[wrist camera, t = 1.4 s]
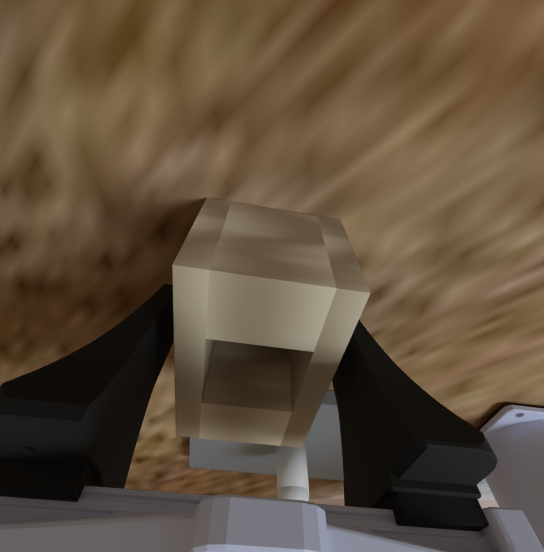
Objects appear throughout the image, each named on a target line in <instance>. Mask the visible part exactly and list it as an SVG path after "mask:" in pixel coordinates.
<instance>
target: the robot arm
mask: <svg viewBox="0 0 544 552" xmlns="http://www.w3.org/2000/svg"><path fill="white" fill-rule="evenodd" d="M173 341H174V314H173V285H168V284H165V285H163V286H162V287H161V288H160V289H159V290H158V291H157V292H156V293H155V294H154V295H153V296H152V297H150V298H149V299H148V300H147V301H146V302H145V303H144V304H143V305H141V306H140V307H139V308H138V309H137V310H136V311H134V312H133V313H132V314H131V315H130V316H128V317H127V318H126V319H124V320H123V321H122V322H121V323H119V324H118V325H117V326H115V327H114V328H112V329H111V330H110V331H108V332H107V333H105V334H104V335H102V336H101V337H99V338H98V339H96V340H94V341H93V342H91V343H89V344H88V345H86V346H84V347H82V348H80V349H79V350H77V351H75V352H73V353H71V354H70V355H68V356H66V357H64V358H62V359H59V360H57V361H55V362H53V363H51V364H49V365H47V366H44V367H42V368H40V369H38V370H35V371H33V372H30V373H28V374H25V375H23V376H20V377H18V378H15V379H13V380H10V381H7V382H5V383H3V384H2V385H1V386H0V552H544V408H536V407H527V406H518V405H507V406H505V407H503V408H502V409H501V410H500V411H499V412H498V413H497V414H496V415H495V416H494V417H493V418H491V419H490V420H489V421H488V422H487V423H486V424H485V425H484V426H483V427H482V428H481V429H480V430H478V429H477V428H475V427H474V426H472V425H470V424H469V423H467V422H466V421H464V420H463V419H461V418H460V417H458V416H457V415H455V414H454V413H453V412H451V411H450V410H448V409H447V408H446V407H444V406H443V405H442V404H440V403H439V402H438V401H436V400H435V399H434V398H433V397H431V396H430V395H429V394H428V393H426V392H425V391H424V390H423V389H422V388H421V387H419V386H418V385H417V384H416V383H415V382H414V381H413V380H411V379H410V378H409V377H408V376H407V375H406V374H405V373H404V372H403V371H402V370H401V369H400V368H399V367H398V366H397V365H396V364H395V363H394V362H393V361H392V360H391V358H390V357H389V356H388V355H387V354H386V353H385V352H384V351H383V349H382V348H381V347H380V346H379V345H378V343H377V342H376V341H375V340H374V339H373V337H372V336H371V335H370V333H369V332H368V331H367V330H366V328H365V327H364V326H363V324H362V323H361V322H360V320H358V323H357V325H356V327H355V329H354V332H353V334H352V336H351V338H350V341H349V343H348V345H347V347H346V350H345V352H344V354H343V356H342V359H341V361H340V363H339V365H338V368H337V370H336V372H335V374H334V376H333V379H332V382H333V387H334V392H335V397H336V402H337V407H338V413H339V423H340V433H341V445H342V458H343V475H344V501H345V506H337V505H325V504H315V503H313V502H308V501H303V500H292V499H280V498H267V497H255V496H242V495H214V496H210V495H197V494H185V493H172V492H159V491H146V490H134V489H124V486H125V482H126V479H127V475H128V471H129V467H130V464H131V460H132V457H133V453H134V449H135V446H136V442H137V439H138V435H139V432H140V429H141V426H142V422H143V419H144V416H145V412H146V409H147V406H148V403H149V400H150V396H151V393H152V391H153V388H154V386H155V383H156V381H157V378H158V376H159V374H160V371H161V369H162V367H163V364H164V362H165V360H166V358H167V355H168V353H169V351H170V348H171V346H172V343H173ZM484 478H485V479H486V481H487V483H488V485H489V487H490V489H491V491H492V493H493V495H494V497H495V499H496V501H497V503H498V505H499V507H500V508H498V507H488V508H483V509H482V508H481V506H480V504H479V502H478V500H477V499H479V498H481V493H480V491H479V489H478V487H477V485H476V484H478V483H479V482H480V481H482V480H483V479H484Z"/></svg>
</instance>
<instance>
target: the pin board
mask: <svg viewBox="0 0 544 552" xmlns="http://www.w3.org/2000/svg"><path fill="white" fill-rule="evenodd" d="M189 467H190V468H201V469H213V470H224V471H236V472H247V473H258V474H270V475H277V498H280V499H292V500H303V501H308V500H309V484H308V478H316V479H327V480H339V481H344V475H343V458H342V445H341V433H340V423H339V413H338V407H337V402H336V397H335V392H334V391H327V392H326V394H325V397H324V399H323V401H322V403H321V406H320V408H319V410H318V412H317V415H316V417H315V419H314V421H313V424H312V426H311V428H310V430H309V433H308V435H307V437H306V439H305V442H304V444H303V446H302V448H297V447H287V446H276V445H266V444H255V443H245V442H234V441H224V440H213V439H203V438H193V437H190V454H189Z"/></svg>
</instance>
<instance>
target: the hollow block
mask: <svg viewBox="0 0 544 552" xmlns="http://www.w3.org/2000/svg"><path fill="white" fill-rule="evenodd" d="M172 268H173V314H174V360H175V406H176V436H182V437H193V438H203V439H213V440H224V441H234V442H245V443H255V444H266V445H276V446H287V447H297V448H302V446H303V444H304V442H305V439H306V437H307V435H308V433H309V430H310V428H311V426H312V424H313V421H314V419H315V417H316V415H317V412H318V410H319V408H320V406H321V403H322V401H323V399H324V397H325V394H326V392H327V390H328V388H329V385H330V383H331V381H332V379H333V376H334V374H335V372H336V370H337V368H338V365H339V363H340V361H341V359H342V356H343V354H344V352H345V350H346V347H347V345H348V343H349V341H350V338H351V336H352V334H353V332H354V329H355V327H356V325H357V323H358V320H359V318H360V316H361V314H362V311H363V309H364V307H365V305H366V302H367V300H368V298H369V296H370V290H369V288H368V285H367V283H366V280H365V278H364V276H363V273H362V271H361V268H360V266H359V263H358V261H357V259H356V256H355V254H354V251H353V249H352V246H351V244H350V242H349V239H348V237H347V234H346V232H345V229H344V227H343V225H342V222H341V220H339V219H333V218H327V217H321V216H315V215H308V214H302V213H296V212H290V211H284V210H278V209H271V208H265V207H259V206H253V205H247V204H241V203H235V202H228V201H222V200H216V199H210V198H206V200H205V202H204V204H203V206H202V208H201V210H200V212H199V214H198V216H197V218H196V220H195V222H194V224H193V226H192V228H191V230H190V231H189V233H188V235H187V237H186V239H185V241H184V243H183V245H182V247H181V249H180V251H179V253H178V255H177V257H176V259H175V261H174V263H173V265H172Z"/></svg>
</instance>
